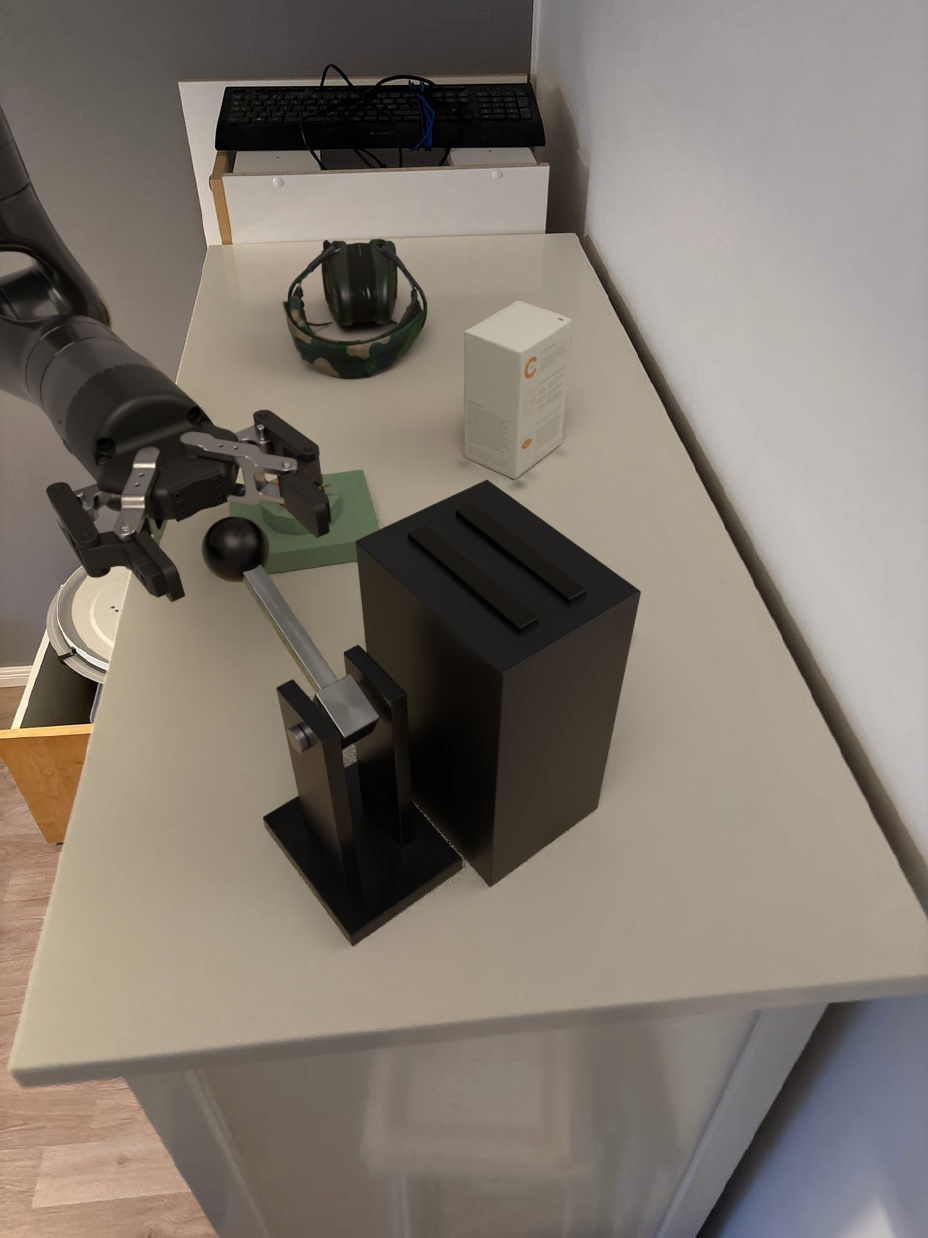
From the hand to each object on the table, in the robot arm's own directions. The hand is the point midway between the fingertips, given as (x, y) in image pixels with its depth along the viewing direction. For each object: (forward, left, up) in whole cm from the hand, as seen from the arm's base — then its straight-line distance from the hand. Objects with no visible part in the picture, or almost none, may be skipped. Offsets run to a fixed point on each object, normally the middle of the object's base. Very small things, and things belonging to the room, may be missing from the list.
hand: (252, 553), depth 46 cm
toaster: (+12, -4, -19) cm, 23 cm away
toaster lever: (+1, -1, -5) cm, 5 cm away
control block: (+3, +25, -19) cm, 32 cm away
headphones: (+13, +59, -19) cm, 64 cm away
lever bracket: (+3, -7, -19) cm, 20 cm away
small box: (+24, +33, -19) cm, 45 cm away
